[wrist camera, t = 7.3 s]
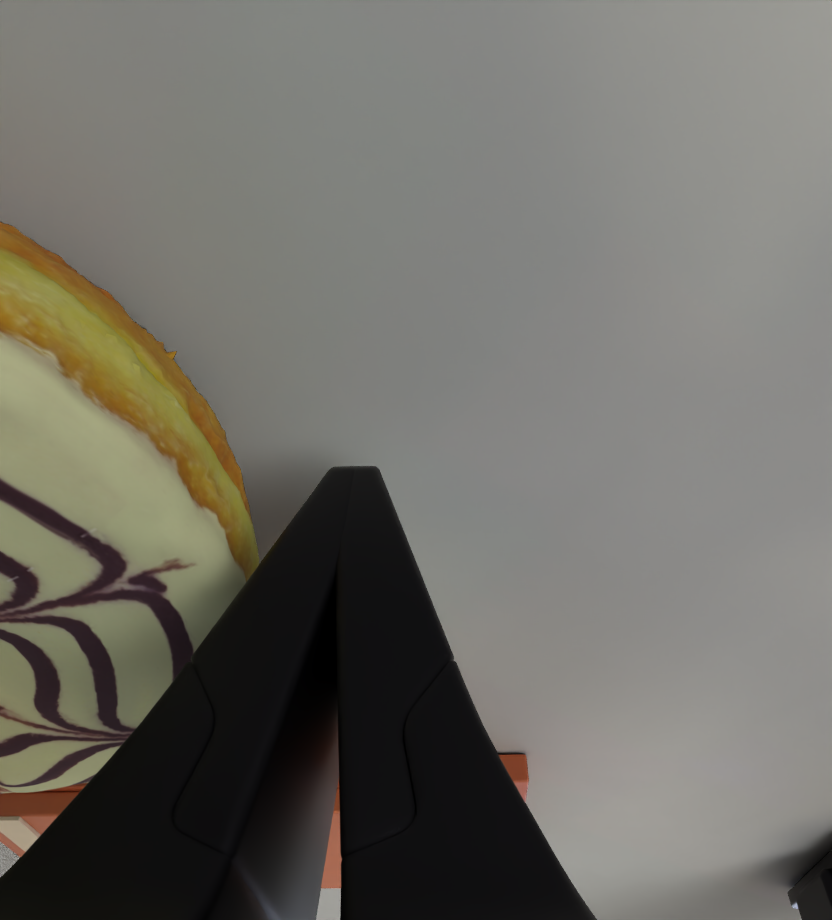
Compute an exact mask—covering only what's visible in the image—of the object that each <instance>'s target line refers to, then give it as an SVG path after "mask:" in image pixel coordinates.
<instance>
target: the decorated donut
mask: <svg viewBox="0 0 832 920" xmlns="http://www.w3.org/2000/svg"><path fill="white" fill-rule="evenodd" d="M176 352H177V351H175V352H169V353H167V352H166V351H165V350H164V346H163V342H158V341H156V340H155V339H154V337H153V335H152V334H149V333H147V331H146V329H142V328H141V327H140V326H139V325H138V324H137V323H135V322H134V321H133V320H132V319H131V318H130V317H129V315H128V314H127V313H126V312H125V310H124V309H123V307H122V306H121V305H120V304H119V303H118V302H117V301H115V300H114V298H113V297H112V295H111V294H109V293H108V292H107V291H105V290H103V289H101V288H98V287H96V286H94V285H93V284H92V283H91V282H89V281H88V280H86V279H85V278H84V277H83V276H82V275H79V274H78V273H77V271H76V270H74V269H73V268H71V267H70V266H69V265H68V264H66V263H65V261H64V260H63V259H62V257H60V256H58V255H56V254H54V253H52V252H50V251H47V250H45V249H44V248H42V247H41V246H40V245H38V244H37V243H35V242H34V241H33V240H31V239H30V238H28V237H26V236H24V235H23V234H22V233H20V232H19V231H18V230H17V229H16V228H15V227H13V226H11V225H8V224H3V223H2V222H0V794H4V793H12V792H16V793H27V792H38V791H44V790H50V789H57V788H61V787H67V786H72V785H77V784H82V783H88V782H89V781H90V780H91V779H92V778H93V777H94V776H95V775H96V773H97V772H98V771H99V770H100V769H101V768H102V767H103V766H104V765H105V763H106V762H107V761H108V760H109V759H110V758H111V757H112V755H113V754H114V753H115V752H116V751H117V750H118V749H119V747H120V746H121V745H122V744H123V743H124V742H125V740H126V739H127V738H128V737H129V736H130V735H131V734H132V732H133V731H134V730H135V729H136V728H137V727H138V725H139V724H140V723H141V722H142V721H143V719H144V718H145V717H146V716H147V714H148V713H149V712H150V710H151V709H152V708H153V707H154V705H155V704H156V703H157V701H158V700H159V699H160V698H161V696H162V695H163V694H164V692H165V691H166V690H167V689H168V687H169V686H170V685H171V683H172V682H173V681H174V679H175V678H176V676H177V675H178V674H179V672H180V671H181V670H182V668H183V667H184V665H185V664H186V663H187V662H191V663H192V661H191V657H192V655H193V654H194V652H195V651H196V650H197V648H198V647H199V646H200V644H201V643H202V642H203V640H204V639H205V637H206V636H207V635H208V633H209V632H210V631H211V629H212V628H213V627H214V625H215V624H216V623H217V621H218V620H219V618H220V617H221V616H222V614H223V613H224V612H225V610H226V609H227V608H228V606H229V605H230V604H231V602H232V601H233V599H234V598H235V597H236V595H237V594H238V593H239V591H240V590H241V589H242V587H243V586H244V585H245V583H246V582H247V580H248V579H249V578H250V576H251V575H252V574H253V572H254V571H255V570H256V568H257V567H258V565H259V556H258V547H257V544H256V539H255V532H254V528H253V524H252V519H251V515H250V508H249V503H248V500H247V497H246V494H245V489H244V485H243V479H242V474H241V470H240V468H239V466H238V465H237V463H236V460H235V457H234V455H233V453H232V451H231V449H230V447H229V445H228V443H227V441H226V435H225V431H224V430H223V429H222V428H221V426H220V423H219V421H218V420H217V418H216V416H215V414H214V412H213V411H212V409H211V408H210V406H209V404H208V403H207V401H206V400H205V399H204V398H203V396H201V395H200V394H199V393H198V392H197V391H196V389H195V387H194V386H193V385H192V383H191V381H190V380H189V379H188V378H187V377H186V376H185V375H184V374H183V372H182V370H181V369H180V368H179V366H178V365H177V364H176V362H175V361H174V357H175V354H176ZM192 664H193V663H192Z"/></svg>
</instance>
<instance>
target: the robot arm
mask: <svg viewBox="0 0 832 920" xmlns="http://www.w3.org/2000/svg"><path fill="white" fill-rule="evenodd" d="M191 661H192V663H193V664H192V663H191V662H187V663H186V664H185V665H184V667H183V668H182V670H181V671H180V672H179V674H178V675H177V676H176V678H175V679H174V681H173V682H172V683H171V685H170V686H169V687H168V689H167V690H166V691H165V692H164V694H163V695H162V696H161V698H160V699H159V700H158V701H157V703H156V704H155V705H154V707H153V708H152V709H151V710H150V712H149V713H148V714H147V716H146V717H145V718H144V719H143V721H142V722H141V723H140V724H139V725H138V727H137V728H136V729H135V730H134V731H133V732H132V734H131V735H130V736H129V737H128V738H127V739H126V740H125V742H124V743H123V744H122V745H121V746H120V747H119V749H118V750H117V751H116V752H115V753H114V754H113V755H112V757H111V758H110V759H109V760H108V761H107V762H106V763H105V765H104V766H103V767H102V768H101V769H100V770H99V771H98V772H97V773H96V775H95V776H94V777H93V778H92V779H91V780H90V781H89V782H88V783H87V785H86V786H85V787H84V788H83V789H82V790H81V791H80V792H79V793H78V794H77V796H76V797H75V798H74V799H73V800H72V801H71V802H70V803H69V804H68V806H67V807H66V808H65V809H64V810H63V811H62V812H61V813H60V814H59V815H58V817H57V818H56V819H55V820H54V821H53V822H52V823H51V824H50V825H49V827H48V828H47V829H46V830H45V831H44V832H43V833H42V834H41V835H40V836H39V838H38V839H37V840H36V841H35V842H34V843H33V844H32V845H31V846H30V848H29V849H28V850H27V851H26V852H25V853H24V854H23V855H22V856H21V857H20V858H19V860H18V861H17V862H16V863H15V864H14V865H13V866H12V867H11V868H10V869H9V870H8V871H7V872H6V873H5V874H4V875H3V876H2V877H0V920H316V915H317V909H318V903H319V897H320V890H321V884H322V878H323V872H324V866H325V860H326V854H327V848H328V842H329V836H330V829H331V823H332V817H333V811H334V805H335V799H336V793H337V787H338V781H339V801H340V852H341V858H342V861H341V917H340V920H597V919H596V918H595V916H594V915H593V913H592V912H591V911H590V909H589V908H588V906H587V905H586V903H585V902H584V900H583V899H582V898H581V896H580V895H579V893H578V892H577V890H576V888H575V887H574V885H573V884H572V882H571V880H570V879H569V877H568V876H567V874H566V872H565V871H564V869H563V867H562V866H561V864H560V863H559V861H558V859H557V858H556V856H555V854H554V852H553V851H552V849H551V847H550V845H549V844H548V842H547V840H546V838H545V836H544V835H543V833H542V831H541V829H540V828H539V826H538V824H537V822H536V821H535V819H534V817H533V815H532V814H531V812H530V810H529V808H528V807H527V805H526V803H525V801H524V800H523V798H522V796H521V794H520V793H519V791H518V789H517V787H516V785H515V784H514V782H513V780H512V778H511V777H510V775H509V773H508V771H507V770H506V768H505V766H504V764H503V763H502V761H501V759H500V757H499V755H498V753H497V751H496V749H495V747H494V745H493V743H492V741H491V740H490V738H489V736H488V734H487V732H486V730H485V728H484V726H483V724H482V722H481V720H480V717H479V715H478V713H477V711H476V708H475V706H474V704H473V702H472V699H471V697H470V695H469V692H468V690H467V688H466V686H465V683H464V681H463V678H462V676H461V673H460V671H459V668H458V665H457V663H456V662H455V661H454V656H453V654H452V651H451V649H450V646H449V644H448V641H447V639H446V636H445V634H444V631H443V629H442V626H441V623H440V621H439V618H438V616H437V613H436V611H435V608H434V606H433V603H432V601H431V598H430V596H429V593H428V591H427V588H426V586H425V583H424V581H423V578H422V576H421V573H420V571H419V568H418V566H417V563H416V561H415V558H414V556H413V553H412V551H411V548H410V546H409V543H408V541H407V538H406V535H405V533H404V530H403V528H402V525H401V523H400V520H399V518H398V515H397V513H396V510H395V508H394V505H393V503H392V500H391V498H390V495H389V493H388V490H387V488H386V485H385V483H384V480H383V478H382V475H381V473H380V470H379V469H378V468H377V467H376V466H348V467H333V468H331V469H329V471H328V472H327V473H326V475H325V476H324V477H323V479H322V480H321V481H320V483H319V484H318V485H317V487H316V488H315V489H314V491H313V492H312V494H311V495H310V496H309V498H308V499H307V500H306V502H305V503H304V504H303V506H302V507H301V508H300V510H299V511H298V513H297V514H296V515H295V517H294V518H293V519H292V521H291V522H290V523H289V525H288V526H287V527H286V529H285V530H284V532H283V533H282V534H281V536H280V537H279V538H278V540H277V541H276V542H275V544H274V545H273V546H272V548H271V549H270V551H269V552H268V553H267V555H266V556H265V557H264V559H263V560H262V561H261V563H260V564H259V565H258V567H257V568H256V570H255V571H254V572H253V574H252V575H251V576H250V578H249V579H248V580H247V582H246V583H245V585H244V586H243V587H242V589H241V590H240V591H239V593H238V594H237V595H236V597H235V598H234V599H233V601H232V602H231V604H230V605H229V606H228V608H227V609H226V610H225V612H224V613H223V614H222V616H221V617H220V618H219V620H218V621H217V623H216V624H215V625H214V627H213V628H212V629H211V631H210V632H209V633H208V635H207V636H206V637H205V639H204V640H203V642H202V643H201V644H200V646H199V647H198V648H197V650H196V651H195V652H194V654H193V655H192V657H191ZM788 897H789V900H790V903H791V906H792V907H793V908H796V909H799V912H800V915H801V918H802V920H832V850H831V851H830V852H829V853H828V854H827V855H826V856H825V857H824V858H823V859H822V860H821V861H820V862H819V863H818V864H817V865H816V866H815V867H814V868H812V869H811V870H810V871H809V872H808V873H807V874H806V875H805V876H804V877H803V878H802V879H801V880H800V881H799V882H798V883H797V884H796V885H795V886H794V887H793V888H792V889H791V890H790V891H789V892H788Z"/></svg>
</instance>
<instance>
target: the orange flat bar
mask: <svg viewBox="0 0 832 920" xmlns="http://www.w3.org/2000/svg"><path fill="white" fill-rule="evenodd" d="M499 757H500V759H501V761H502V763H503V764H504V766H505V768H506V770H507V771H508V773H509V775H510V777H511V778H512V780H513V782H514V784H515V785H516V787H517V789H518V791H519V793H520V794H521V796H522V798H523V800H524V801H525V802H526V795H527V789H528V783H529V777H528V767H527V758H526V755H524V754H511V755H499ZM86 785H87V783H82V784H77V785H72V786H67V787H61V788H57V789H50V790H44V791H38V792H27V793H16V792H12V793H4V794H0V842H2V843H3V844H4V845H5V846H7V847H8V848H9V849H11V850H12V851H13V852H14V853H16V854H17V855H18V856H19V857H21V856H22V855H23V854H24V853H25V852H26V851H27V850H28V849H29V848H30V846H31V845H32V844H33V843H34V842H35V841H36V840H37V839H38V838H39V836H40V835H41V834H42V833H43V832H44V831H45V830H46V829H47V828H48V827H49V825H50V824H51V823H52V822H53V821H54V820H55V819H56V818H57V817H58V815H59V814H60V813H61V812H62V811H63V810H64V809H65V808H66V807H67V806H68V804H69V803H70V802H71V801H72V800H73V799H74V798H75V797H76V796H77V794H78V793H79V792H80V791H81V790H82V789H83V788H84V787H85V786H86ZM341 861H342V858H341V852H340V801H339V781H338V787H337V793H336V799H335V805H334V811H333V817H332V823H331V829H330V836H329V842H328V848H327V854H326V860H325V866H324V872H323V878H322V884H321V888H341Z"/></svg>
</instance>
